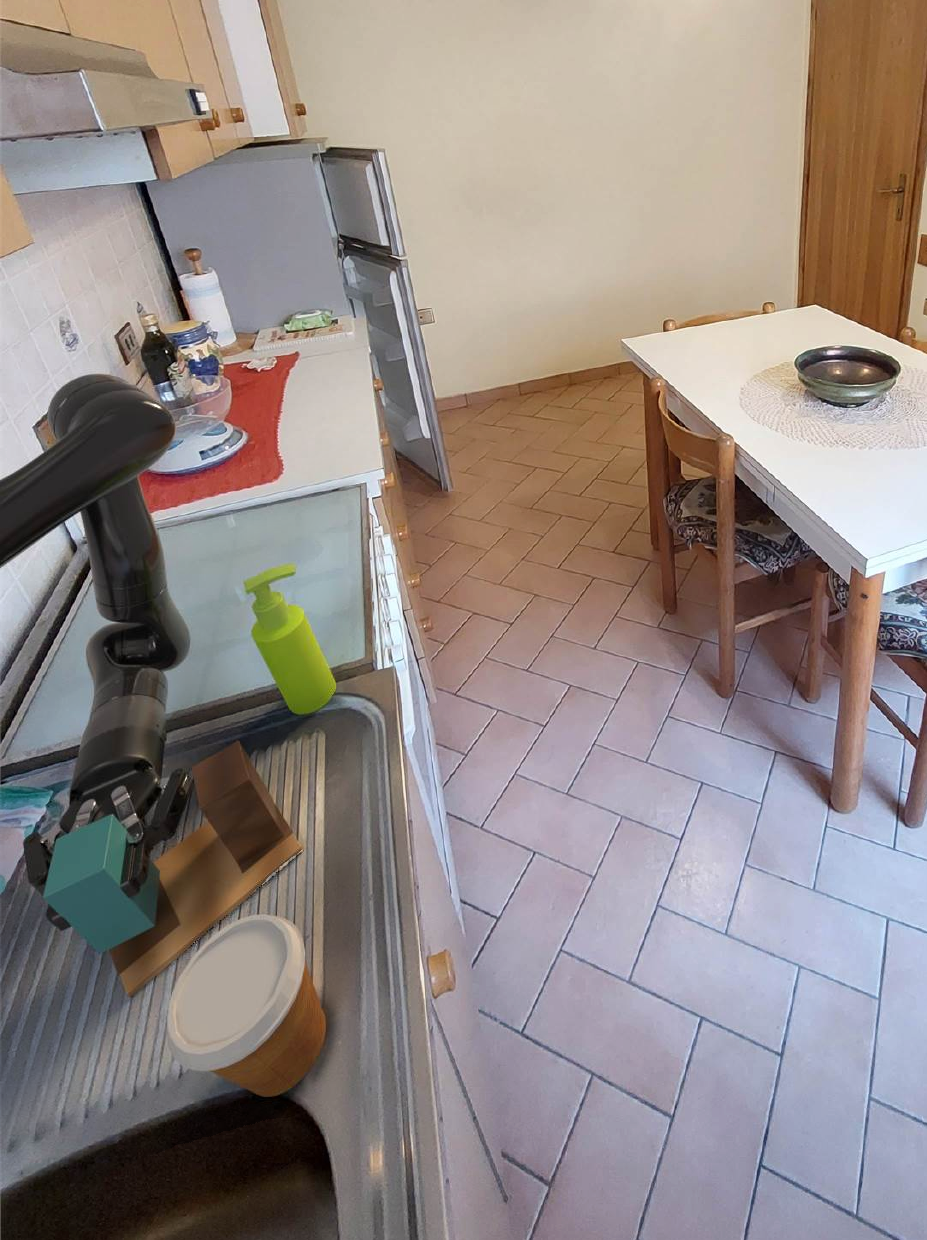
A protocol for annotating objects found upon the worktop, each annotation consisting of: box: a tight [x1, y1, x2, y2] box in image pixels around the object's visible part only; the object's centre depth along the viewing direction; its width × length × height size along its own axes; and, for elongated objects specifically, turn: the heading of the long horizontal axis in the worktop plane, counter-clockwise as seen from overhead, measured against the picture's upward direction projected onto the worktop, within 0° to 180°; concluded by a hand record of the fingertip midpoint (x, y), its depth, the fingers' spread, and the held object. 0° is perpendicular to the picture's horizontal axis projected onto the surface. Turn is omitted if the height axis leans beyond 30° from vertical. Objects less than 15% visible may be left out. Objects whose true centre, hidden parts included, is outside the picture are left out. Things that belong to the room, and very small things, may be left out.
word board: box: [108, 802, 303, 998], centre depth 69 cm, size 16×11×1 cm
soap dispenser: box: [243, 563, 337, 716], centre depth 84 cm, size 6×7×20 cm
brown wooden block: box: [190, 740, 284, 865], centre depth 70 cm, size 4×6×10 cm
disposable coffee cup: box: [166, 914, 327, 1098], centre depth 54 cm, size 10×10×12 cm
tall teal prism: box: [42, 814, 160, 955], centre depth 62 cm, size 4×6×10 cm
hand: (96, 906), depth 60 cm, fingers closed on tall teal prism, 4 cm apart
